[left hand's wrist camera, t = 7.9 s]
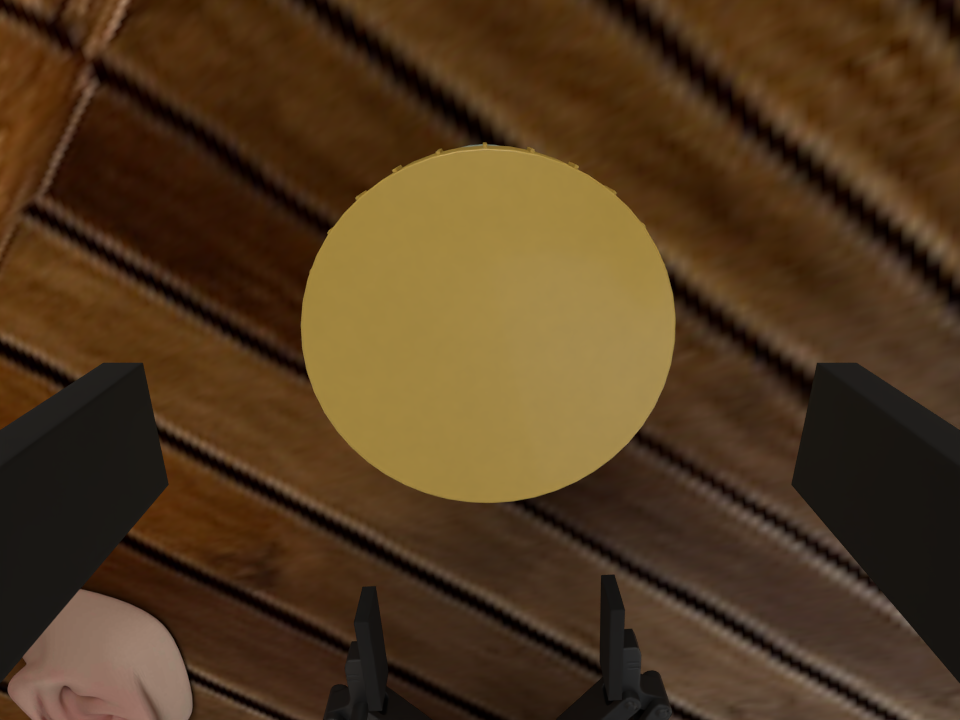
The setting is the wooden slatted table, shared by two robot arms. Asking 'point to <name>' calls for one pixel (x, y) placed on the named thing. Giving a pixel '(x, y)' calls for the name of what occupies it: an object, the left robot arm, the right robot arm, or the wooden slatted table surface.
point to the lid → (488, 324)
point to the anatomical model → (103, 666)
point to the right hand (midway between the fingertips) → (488, 597)
